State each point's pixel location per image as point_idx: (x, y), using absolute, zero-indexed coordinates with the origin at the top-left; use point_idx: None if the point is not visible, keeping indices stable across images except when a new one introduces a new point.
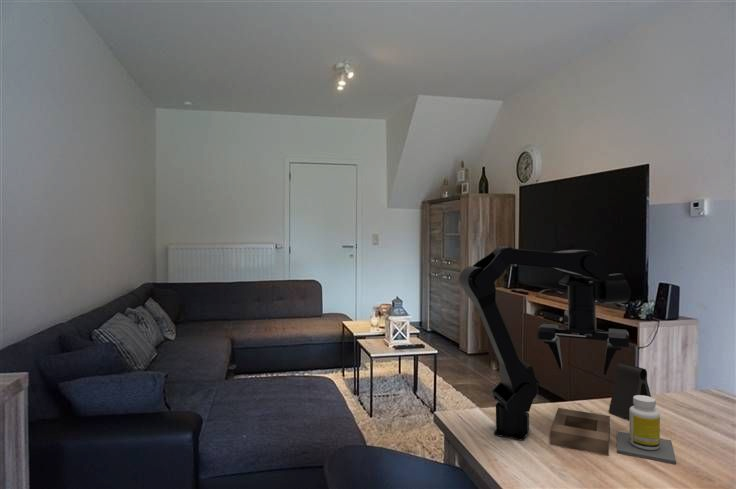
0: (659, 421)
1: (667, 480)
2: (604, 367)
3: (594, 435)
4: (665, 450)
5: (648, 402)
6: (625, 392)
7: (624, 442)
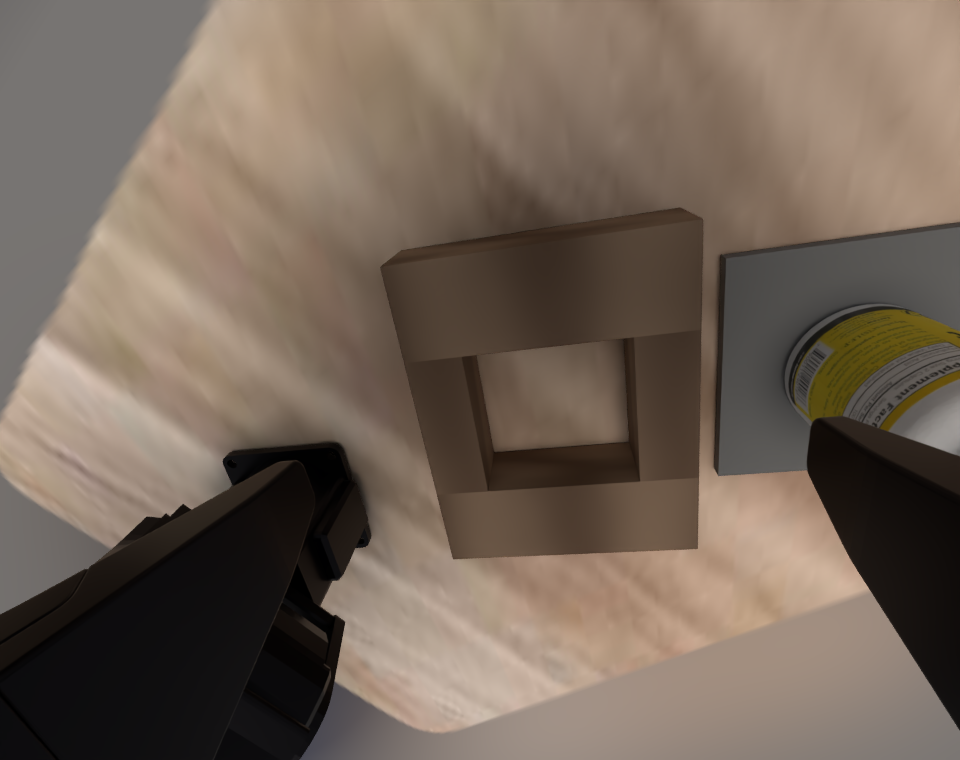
0: None
1: None
2: (875, 593)
3: (635, 527)
4: None
5: None
6: None
7: (755, 386)
